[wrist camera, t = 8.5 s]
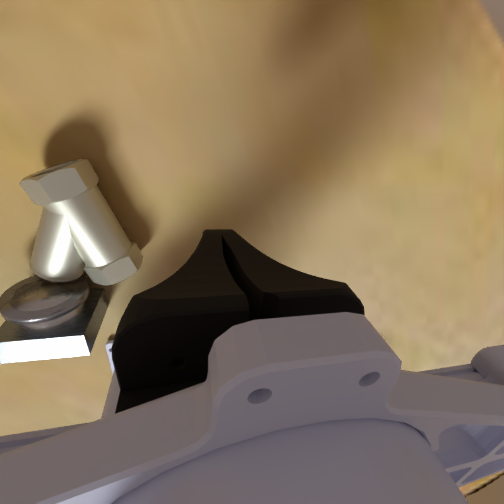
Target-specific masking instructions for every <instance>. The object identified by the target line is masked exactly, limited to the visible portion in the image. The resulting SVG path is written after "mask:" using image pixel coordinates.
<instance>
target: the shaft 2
mask: <svg viewBox="0 0 504 504" xmlns="http://www.w3.org/2000/svg"><path fill="white" fill-rule="evenodd" d="M107 308H108V305H107V301H106V296H105V292H104V289H96V290H90V288H89V284H88V281H87V279H86V278H85V277H84V276H83V275H81V276H80V277H79V278H77V279H75V280H72V281H68V282H56V283H54V282H50V281H49V280H45V279H43V278H40V277H39V276H37V275H36V276H33V277H30V278H27V279H25V280H22V281H20V282H18V283H16V284H15V285H13V286H12V287H10V288H9V289H7V290H6V291H5V292H4V293H3V294H2V295H1V297H0V313H1V315H2V317H3V318H4V319H5V320H6V321H5V322H4V323H3V324H2V326H1V327H0V364H2V363H12V362H23V361H33V360H43V359H53V358H63V357H74V356H84V355H90V353H91V350H92V348H93V345H94V342H95V340H96V337H97V334H98V332H99V329H100V326H101V324H102V321H103V318H104V316H105V313H106V311H107Z"/></svg>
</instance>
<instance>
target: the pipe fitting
mask: <svg viewBox="0 0 504 504" xmlns="http://www.w3.org/2000/svg"><path fill="white" fill-rule="evenodd" d="M98 181H99V178H98V177H97V175H96V173H95V171H94V170H93V168H92V166H91V164H90V163H89V161H88V160H86V159H77V160H72V161H69V162H65V163H62V164H59V165H56V166H53V167H50V168H47V169H44V170H41V171H39V172H36V173H34V174H31V175H29V176H27V177H25V178H23V179H22V180H21V182H20V183H19V184H20V186H21V187H22V188H23V190H24V191H25V192H26V194H27V195H28V196H29V198H30V199H31V200H32V202H33V203H34V204H36V205H42V206H43V210H42V215H41V219H40V223H39V227H38V232H37V236H36V240H35V244H34V248H33V252H32V256H31V260H30V268H31V270H32V271H33V273H34V274H36V275H37V276H39V277H40V278H43V279H45V280H49V281H50V282H54V283H56V282H68V281H72V280H75V279H77V278H79V277H80V276H81V275H82V274H83V273H84V270H85V272H86V273H87V274H88V276H89V277H90V278H91V280H92V281H93V282H94V283H96V284H100V285H113V284H116V283H118V282H121V281H123V280H125V279H127V278H128V277H130V276H131V275H133V274H134V273H135V272H136V271H137V270H138V269H139V268H140V266H141V264H142V261H143V255H142V253H141V251H140V250H139V248H138V246H137V244H136V243H135V242H131V241H129V239H128V237H127V236H126V234H125V232H124V230H123V229H122V227H121V225H120V224H119V222H118V220H117V219H116V217H115V215H114V213H113V212H112V210H111V208H110V207H109V205H108V203H107V202H106V200H105V198H104V196H103V195H102V193H101V191H100V190H99V188H98V186H97V185H96V184H97V183H98Z"/></svg>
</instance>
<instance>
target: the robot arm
mask: <svg viewBox="0 0 504 504" xmlns="http://www.w3.org/2000/svg"><path fill="white" fill-rule="evenodd" d="M105 347H106V351H107V355H108V359H109V362H110V366H111V370H112V374H113V376H112V380H111V383H110V387H109V391H108V395H107V398H106V402H105V406H104V409H103V413H102V417H101V419H99V420H97V421H94V422H90V423H84V424H77V425H71V426H64V427H58V428H51V429H45V430H38V431H32V432H25V433H19V434H12V435H6V436H0V504H469V503H468V501H467V500H466V498H465V497H464V495H463V494H462V492H461V491H460V489H459V487H461V486H464V485H466V484H469V483H471V482H474V481H477V480H479V479H482V478H484V477H487V476H490V475H492V474H495V473H498V472H500V471H503V470H504V345H498V346H491V347H486V348H483V349H482V350H480V351H479V352H478V353H477V354H476V355H475V356H474V357H473V359H472V360H471V364H466V365H459V366H453V367H446V368H440V369H433V370H427V371H420V372H412V371H405V370H400V369H401V364H402V361H401V360H400V359H399V358H398V356H397V355H396V354H395V353H394V351H393V350H392V349H391V348H390V346H389V345H388V344H387V343H386V341H385V340H384V339H383V338H382V336H381V335H380V334H379V333H378V332H377V330H376V329H375V328H374V327H373V325H372V324H371V323H370V322H369V321H368V319H367V318H366V317H365V316H364V306H363V304H362V303H361V301H360V299H359V298H358V297H357V296H356V295H355V293H354V292H353V291H352V290H351V289H350V288H349V286H348V285H347V284H346V283H343V282H338V281H333V280H329V279H324V278H320V277H316V276H313V275H309V274H306V273H303V272H300V271H297V270H295V269H292V268H290V267H287V266H285V265H283V264H281V263H279V262H277V261H275V260H273V259H271V258H270V257H268V256H266V255H265V254H263V253H262V252H260V251H259V250H257V249H256V248H254V247H253V246H252V245H250V244H249V243H248V242H247V241H245V240H244V239H243V238H242V237H241V236H239V235H238V234H237V233H236V232H235V231H233V230H204V231H203V235H202V238H201V241H200V243H199V244H198V246H197V248H196V250H195V251H194V253H193V254H192V255H191V257H190V258H189V259H188V261H187V262H186V263H185V264H184V265H183V266H182V267H181V268H180V269H179V270H178V271H177V272H176V273H174V274H173V275H172V276H171V277H169V278H168V279H166V280H165V281H163V282H161V283H159V284H158V285H156V286H154V287H152V288H150V289H148V290H145V291H143V292H141V293H139V294H136V295H134V296H133V297H132V299H131V301H130V302H129V304H128V306H127V308H126V310H125V312H124V314H123V316H122V318H121V320H120V322H119V325H118V328H117V331H116V334H115V338H114V340H110V341H108V342H107V343H106V346H105Z"/></svg>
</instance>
